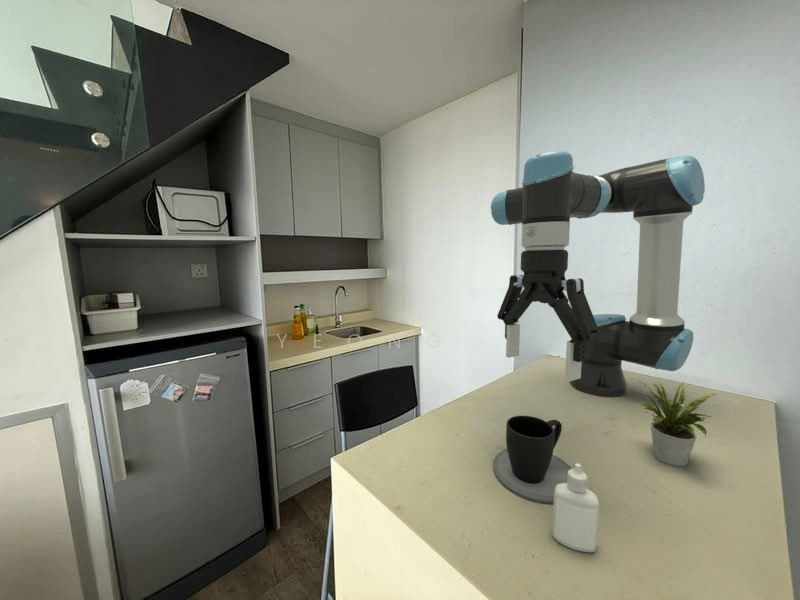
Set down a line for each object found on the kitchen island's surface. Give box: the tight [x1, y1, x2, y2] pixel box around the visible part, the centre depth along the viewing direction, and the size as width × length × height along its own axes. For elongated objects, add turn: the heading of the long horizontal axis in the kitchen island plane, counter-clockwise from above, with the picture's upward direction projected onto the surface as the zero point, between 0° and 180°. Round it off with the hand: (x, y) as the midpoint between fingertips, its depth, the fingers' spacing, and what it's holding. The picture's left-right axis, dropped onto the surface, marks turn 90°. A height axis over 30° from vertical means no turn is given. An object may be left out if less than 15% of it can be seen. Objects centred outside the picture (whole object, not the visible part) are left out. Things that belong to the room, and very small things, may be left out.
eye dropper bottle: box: [551, 463, 600, 553], centre depth 46 cm, size 4×6×12 cm
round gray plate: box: [492, 448, 573, 505], centre depth 61 cm, size 15×15×1 cm
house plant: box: [631, 377, 718, 467], centre depth 65 cm, size 14×14×16 cm
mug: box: [505, 415, 563, 484], centre depth 60 cm, size 8×12×10 cm
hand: (539, 366), depth 58 cm, fingers open, 13 cm apart
